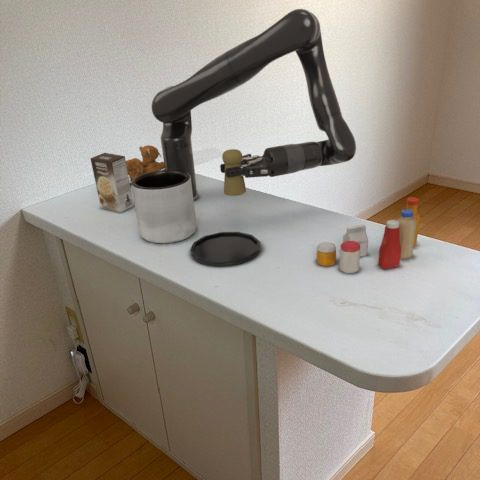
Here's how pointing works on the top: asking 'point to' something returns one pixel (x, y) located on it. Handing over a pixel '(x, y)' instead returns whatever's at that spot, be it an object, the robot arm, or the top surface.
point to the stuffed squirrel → (144, 162)
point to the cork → (236, 183)
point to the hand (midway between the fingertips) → (223, 170)
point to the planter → (164, 206)
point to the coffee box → (112, 182)
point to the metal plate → (225, 249)
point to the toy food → (392, 247)
